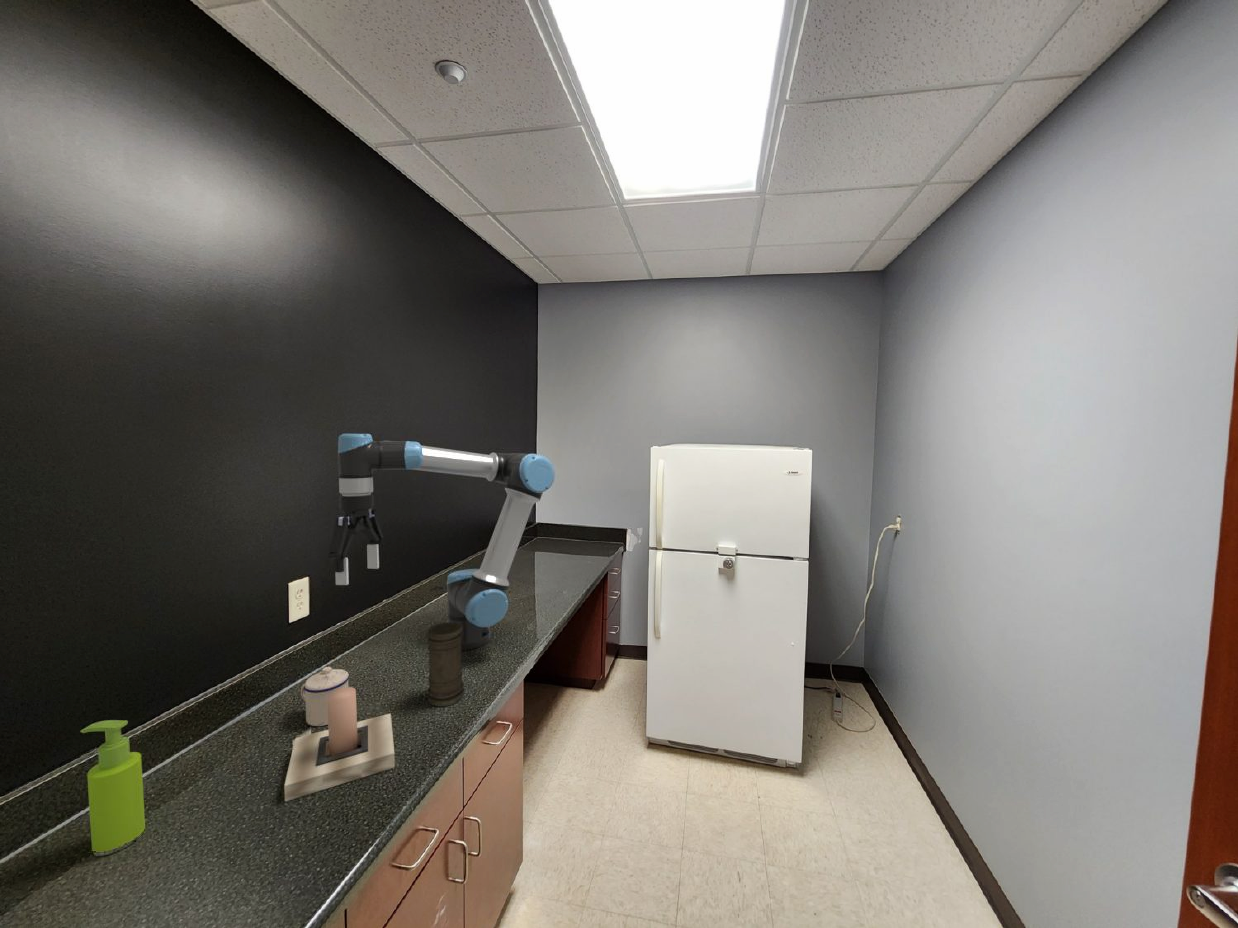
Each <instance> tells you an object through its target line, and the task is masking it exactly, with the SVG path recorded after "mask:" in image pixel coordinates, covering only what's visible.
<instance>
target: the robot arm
mask: <svg viewBox="0 0 1238 928" xmlns="http://www.w3.org/2000/svg"><path fill="white" fill-rule="evenodd" d="M337 439H338V441H337V442H338V444H337V447H338V448H337V449H338V450H337V464H338V465H337V466H338V480H339V481H338V487H339V491H338V492H339V494H340V496H339V497H338V498H339V510H340V511H342V512H344V515H343V516H336V517H335V521H334V523H335V525H334V530H333V534H332V537H331V542H330V544H329V549H328V552H327V558H328V559H331V560H334V572H335V573H334V574H335V575H334V576H335V586H348V585H349V578H350V577H349V558H348V557H347V555H348V552H349V549H350V547H351V544H352V542H353V540H354V537H355V535H356V534H358V532H359V531H361V532H362V534H363V536H364V538H365V539H366V540H367V542H368V543H367V545H366V551H367V552H366V556H367V557H366V558H367V559H366V560H367V561H366V562H367V569H371V570H372V569H373V570H378V569H379V568H380V556H379V555H380V554H379V552H380V551H379V545H381V544H383V540H384V534H383V531H382V528H381V525H380V522H379V519H378V516H377V515H378V514H377V509H376V508H374V506H375V505H374V504H375V503H374V495H373V492H374V479H373V478H374V477H373V476H374V473H373V472H374V471H381V470H384V471H385V470H386V471H388V470H389V471H390V470H392V471H393V470H407V471H408V470H413V471H414V470H415V471H424V472H432V473H442V474H450V475H458V476H459V475H460V476H468V477H476V478H483V479H484V478H485V479H486V480H487V481H488V482H494V483H499V484H502V485H505V487H504V490H505V492H506V499H505V501H504V504H503V506H502V509H501V512H500V514H499V517H498V520H497V521H496V522H497V523H496V524H495V528H494V530H493V532H492V535H491V538H490V540H489V544H488V546H487V549H486V550H485V551H486V552H485V554H484V557H483V560H482V562H481V565H480V568H468V569H461V570H456V571H453V572H451V573H448V575H447V581H446V589H447V592H446V594H447V595H446V599H447V602H446V603H447V620H446V623H447V622H453V623H458V624H460V625H461V626H462V632H461V651H467V650H472V649H477V648H479V647H482V646H483V645H486V644H487V643H488V642H489V641H490V640H491V637H492V634H491V633H492V631H491V628H490V627H492V626H494V625H495V624H497V623H499V622H500V621H501V620H502V619H504V617H505V615H506V613H507V611H508V608H509V600H508V597H507V593H508V589H509V586H510V581H509V580H508V575H509V572H510V569H511V567H512V563H513V562H514V558H515V556H516V553H517V550H518V547H519V546H520V542H521V539H522V538H523V537H522V536H523V535H524V534H523V533H524V531H525V528H526V525H527V522H528V521H529V517H530V515H531V512H532V509H533V506H534V505H535V504H536V503H538V502H540V501H541V498H542V496H543V493H544V492H546V491H547V490H549V489H550V488H551V487H552V485H553V483H554V482H555V468H554V466H553V463H551V461H550V460H549V459H548V458H547V457H546V456H544V455H540V454H538V453H523V452H522V453H521V452H516V453H515V452H514V453H500V452H491V453H489V454H485V453H477V452H469V451H462V450H456V449H449V448H443V447H442V448H441V447H436V446H435V447H434V446H427V445H421V444H420V442H418V441H409V440H407V441H406V440H405V441H404V440H403V441H396V440H393V441H392V440H387V439H386V440H381V441H375V440H373V436H372V435H371V434H370V433H342V434H340V435H339V436H338V438H337Z"/></svg>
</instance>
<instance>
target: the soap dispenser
mask: <svg viewBox="0 0 1238 928" xmlns="http://www.w3.org/2000/svg"><path fill="white" fill-rule="evenodd" d="M128 722H129V721H128V720H121V719H120V720H117V719H110V720H108V719H107V720H103V721H102V720H101V721H96V722H94V723H91V724H90V725H88V726H86V727H85V728H83V729H81V730H80V733H82V734H85V733H89V732H104V735H105V736H104V738H105V742H104V743H101V745H100V746H99V747H98V748H97V754H98V763H97V764H95V765H94V766H93V767H91V768H90V769H89V770H88V772H87V774H86V775H87V789H88V790H87V793H88V807H89V808H88V809H89V822H90V838H91V852H92V851H96V852H104V851H109V850H112V849H115V848H118V847H119V846H123V845H124V844H125V843H128V842H130V841H132V840H134V838H136V837H138V836H139V835H140V834H141V833H142V832H143V831H144V829H145V830H146V819H145V815H146V814H145V801H144V798H145V797H144V782H143V779H144V778H143V765H142V754H141V753H140V752H137V751H131V748H130V739H129V737H126V736H122V728H124V727H125V726H127V725H128Z"/></svg>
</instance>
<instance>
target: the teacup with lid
mask: <svg viewBox="0 0 1238 928" xmlns="http://www.w3.org/2000/svg"><path fill="white" fill-rule="evenodd" d="M349 679H350V674H349V672H348V671H346V670H345V669H340V668H336V669H335V668H334V669H333V668H332V667H331V666H326V667H323V668H322V669H321V671H320V672H318V673H316V674H313V675H312V676H310V677H309V678H308V679H306V681H305V683H303V685H302V686H301V688H300V695H301V698H302V699H303V701H304V702H305V720H306V723H307V724H308V725H310V726H312V727H313V726H314V727H323V726H326V725H327V726H328V703H327V697H328V695H329V694H330V693H331V692H333V691H335V690H337V689H340V688H345V687H349Z"/></svg>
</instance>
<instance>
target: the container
mask: <svg viewBox="0 0 1238 928" xmlns="http://www.w3.org/2000/svg"><path fill="white" fill-rule="evenodd" d="M426 631H427V632H426V636H427V639H428V659H429V661H428V662H429V664H428V665H429V670H428V671H429V673H428V674H429V677H428V682H429V683H428V685H429V686H428V689H427V701H428V703H429V705H432V706H434V707H435V706H436V707H447V706H451V705H454V704H455V703H457V702H459V701H461V699H462V698H463V696H464V694H465V688H464V685H465V684H464V682H463V672H462V650H461V632H462V626H461V625H460V624H458V623H453V622H447V621H446V622H440V623H437V624H434V625H433V626H431V627H429V628H428V630H426Z"/></svg>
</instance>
